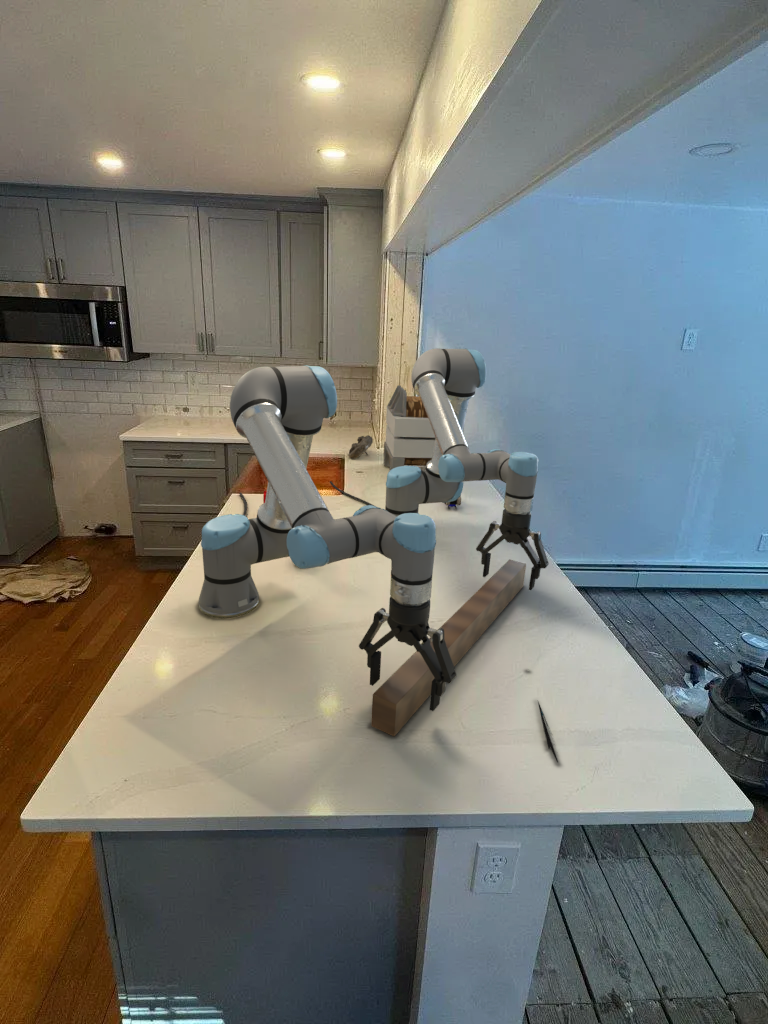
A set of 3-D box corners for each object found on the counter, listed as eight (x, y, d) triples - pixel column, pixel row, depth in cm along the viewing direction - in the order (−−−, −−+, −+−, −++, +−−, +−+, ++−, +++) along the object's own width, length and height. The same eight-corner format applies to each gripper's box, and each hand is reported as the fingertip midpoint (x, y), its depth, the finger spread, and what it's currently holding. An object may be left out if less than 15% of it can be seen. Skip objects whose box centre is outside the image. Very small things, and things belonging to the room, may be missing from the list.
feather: (528, 675, 127) (534, 669, 126) (557, 767, 100) (564, 760, 99) (522, 671, 126) (527, 665, 126) (550, 762, 100) (557, 755, 99)
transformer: (382, 463, 289) (386, 382, 275) (445, 464, 293) (451, 384, 279) (390, 482, 257) (394, 392, 243) (460, 483, 261) (468, 394, 247)
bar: (506, 581, 168) (509, 559, 165) (523, 586, 165) (526, 563, 163) (371, 726, 108) (372, 694, 105) (394, 737, 105) (396, 704, 103)
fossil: (348, 441, 313) (370, 426, 308) (359, 455, 316) (380, 440, 311) (342, 455, 293) (365, 439, 288) (353, 469, 296) (376, 454, 291)
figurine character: (461, 514, 225) (456, 498, 239) (463, 497, 222) (458, 482, 235) (444, 513, 225) (440, 498, 239) (446, 496, 222) (442, 481, 235)
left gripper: (342, 586, 107) (340, 681, 114) (464, 627, 95) (453, 730, 102) (364, 572, 113) (361, 663, 120) (481, 608, 101) (469, 707, 108)
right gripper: (469, 504, 155) (462, 574, 162) (559, 524, 143) (547, 599, 150) (479, 497, 161) (472, 565, 168) (567, 516, 149) (555, 588, 156)
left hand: (403, 694), depth 111 cm, fingers open, 13 cm apart
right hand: (508, 581), depth 159 cm, fingers open, 13 cm apart
